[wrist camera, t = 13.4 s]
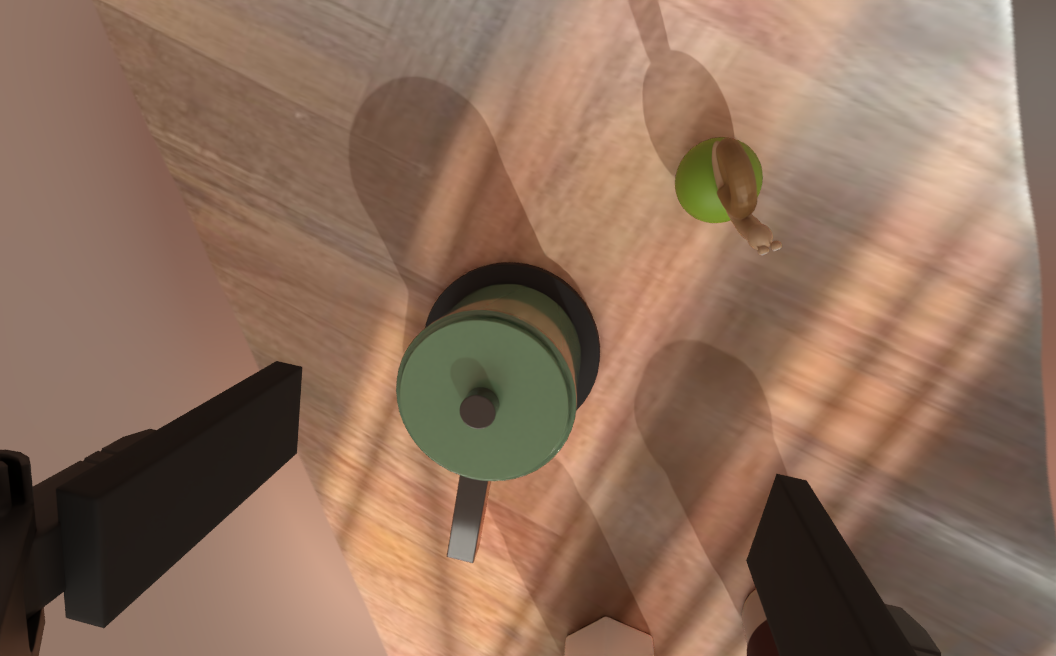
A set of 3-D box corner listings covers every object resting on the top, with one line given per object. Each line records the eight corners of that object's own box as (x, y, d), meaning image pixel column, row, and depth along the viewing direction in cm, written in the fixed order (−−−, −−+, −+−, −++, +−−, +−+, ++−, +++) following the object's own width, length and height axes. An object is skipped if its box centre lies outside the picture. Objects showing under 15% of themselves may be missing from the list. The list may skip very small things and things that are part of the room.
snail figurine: (689, 243, 41) (720, 272, 30) (660, 157, 40) (681, 153, 28) (764, 215, 40) (827, 234, 28) (738, 126, 38) (792, 108, 27)
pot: (417, 484, 48) (364, 572, 38) (447, 267, 43) (394, 300, 32) (549, 516, 47) (532, 615, 37) (597, 298, 42) (593, 342, 31)
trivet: (438, 246, 44) (434, 247, 43) (617, 282, 42) (617, 285, 42) (417, 408, 48) (413, 413, 47) (580, 446, 47) (579, 451, 46)
